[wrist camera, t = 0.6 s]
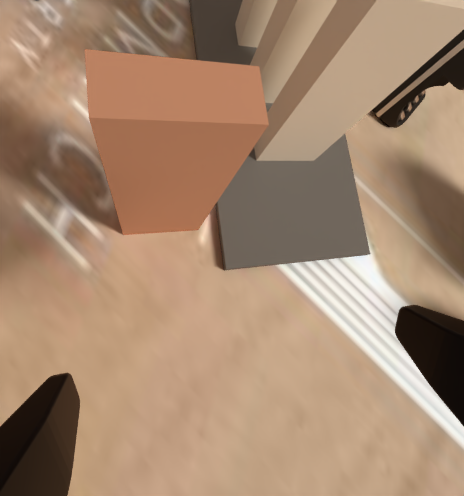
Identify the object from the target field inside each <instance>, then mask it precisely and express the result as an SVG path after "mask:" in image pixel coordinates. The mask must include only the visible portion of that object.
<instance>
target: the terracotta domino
mask: <svg viewBox="0 0 464 496" xmlns="http://www.w3.org/2000/svg"><path fill="white" fill-rule="evenodd" d="M85 62H86V78H87V94H88V110H89V119H90V123H91V126H92V130H93V133H94V136H95V140H96V143H97V147H98V150H99V154H100V157H101V160H102V164H103V167H104V171H105V174H106V177H107V181H108V184H109V188H110V191H111V195H112V198H113V201H114V205H115V208H116V212H117V215H118V218H119V222H120V225H121V229H122V232H123V235H129V234H144V233H159V232H175V231H190V230H198V229H199V228H200V226H201V225H202V223H203V222H204V220H205V219H206V217H207V216H208V214H209V213H210V212H211V210H212V209H213V207H214V206H215V204H216V203H217V201H218V200H219V198H220V197H221V195H222V194H223V192H224V191H225V189H226V188H227V186H228V185H229V183H230V182H231V180H232V179H233V177H234V176H235V174H236V173H237V171H238V170H239V168H240V167H241V165H242V164H243V162H244V161H245V159H246V158H247V157H248V155H249V154H250V152H251V151H252V149H253V148H254V146H255V145H256V143H257V142H258V140H259V139H260V137H261V136H262V134H263V133H264V131H265V130H266V128H267V127H268V125H269V122H268V116H267V110H266V104H265V98H264V92H263V86H262V80H261V74H260V68H259V66H251V65H241V64H230V63H220V62H210V61H200V60H190V59H180V58H169V57H159V56H149V55H139V54H129V53H118V52H108V51H98V50H88V49H85Z"/></svg>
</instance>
